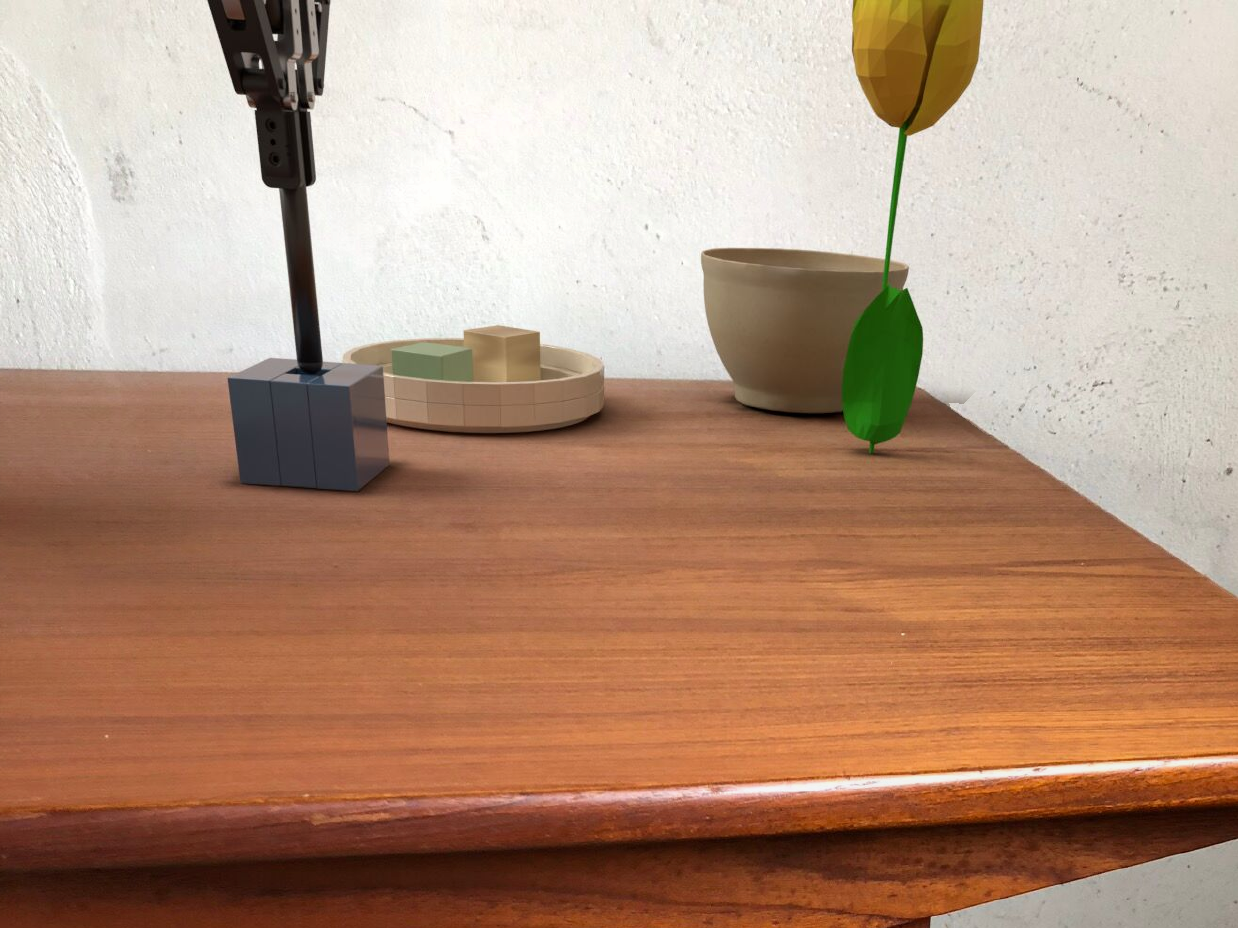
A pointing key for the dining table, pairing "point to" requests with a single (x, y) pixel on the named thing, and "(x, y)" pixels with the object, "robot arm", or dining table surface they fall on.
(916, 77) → the flower
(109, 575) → the dining table surface
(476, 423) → the cream bowl
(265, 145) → the robot arm
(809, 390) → the planter bowl
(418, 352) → the sage block
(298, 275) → the stirring stick
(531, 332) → the birch block
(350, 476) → the stick holder
